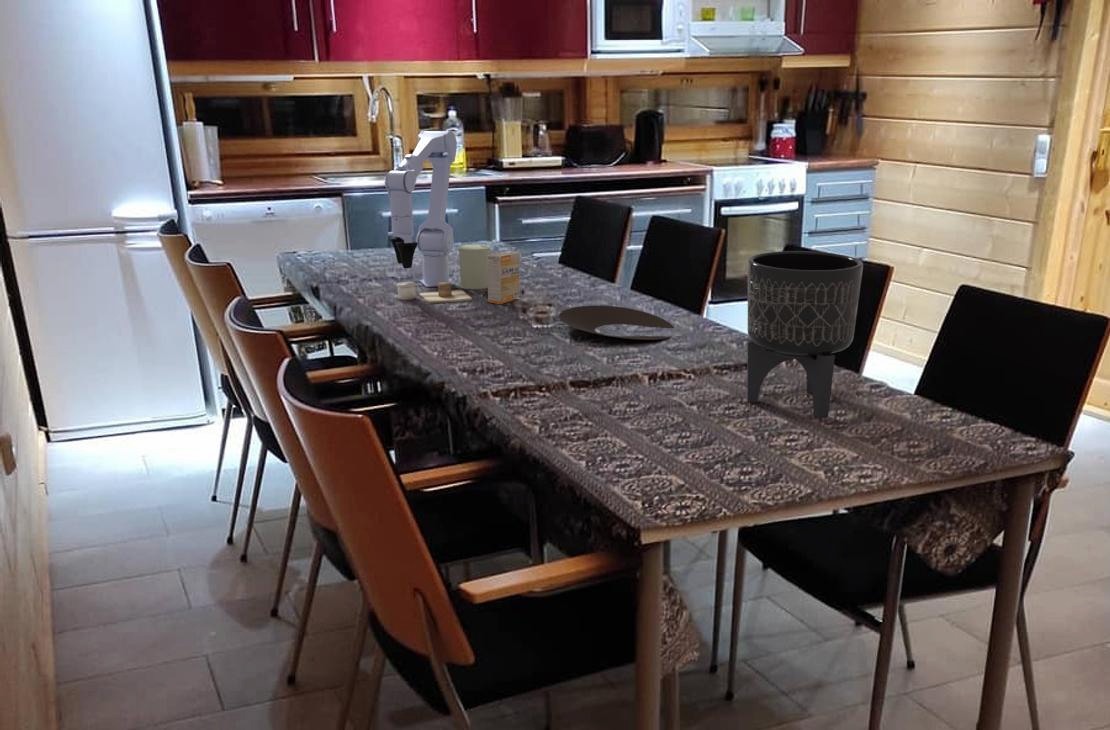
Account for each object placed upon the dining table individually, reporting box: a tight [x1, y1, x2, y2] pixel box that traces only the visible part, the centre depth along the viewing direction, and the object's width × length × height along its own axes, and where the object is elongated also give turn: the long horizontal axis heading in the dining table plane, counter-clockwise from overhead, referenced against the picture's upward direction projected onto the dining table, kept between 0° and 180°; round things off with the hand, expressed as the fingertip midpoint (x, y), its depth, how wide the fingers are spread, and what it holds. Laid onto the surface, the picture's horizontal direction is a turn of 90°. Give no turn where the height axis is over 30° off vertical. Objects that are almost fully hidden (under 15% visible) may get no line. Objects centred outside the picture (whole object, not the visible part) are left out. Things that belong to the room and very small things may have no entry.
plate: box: [558, 305, 675, 341], centre depth 224 cm, size 28×28×4 cm
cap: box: [396, 281, 416, 301], centre depth 260 cm, size 5×5×4 cm
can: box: [458, 243, 491, 290], centre depth 273 cm, size 9×9×12 cm
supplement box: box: [487, 250, 521, 305], centre depth 254 cm, size 8×5×13 cm, turn 143°
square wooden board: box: [418, 281, 473, 305], centre depth 260 cm, size 12×12×4 cm
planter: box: [746, 250, 864, 419], centre depth 169 cm, size 20×20×26 cm
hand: (404, 265), depth 258 cm, fingers open, 7 cm apart
